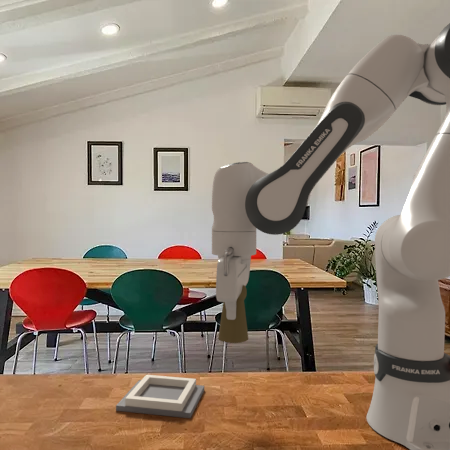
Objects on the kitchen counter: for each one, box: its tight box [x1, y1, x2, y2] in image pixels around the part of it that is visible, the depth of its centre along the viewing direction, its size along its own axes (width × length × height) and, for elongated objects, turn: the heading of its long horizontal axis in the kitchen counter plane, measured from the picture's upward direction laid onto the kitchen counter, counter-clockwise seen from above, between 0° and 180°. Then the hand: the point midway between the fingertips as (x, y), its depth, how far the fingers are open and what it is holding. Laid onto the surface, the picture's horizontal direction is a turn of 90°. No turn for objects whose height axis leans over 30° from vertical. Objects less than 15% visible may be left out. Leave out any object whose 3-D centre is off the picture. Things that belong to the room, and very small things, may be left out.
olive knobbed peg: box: [217, 285, 249, 344], centre depth 80 cm, size 6×6×11 cm
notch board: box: [115, 374, 205, 419], centre depth 83 cm, size 15×12×2 cm
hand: (233, 314), depth 80 cm, fingers closed on olive knobbed peg, 4 cm apart
